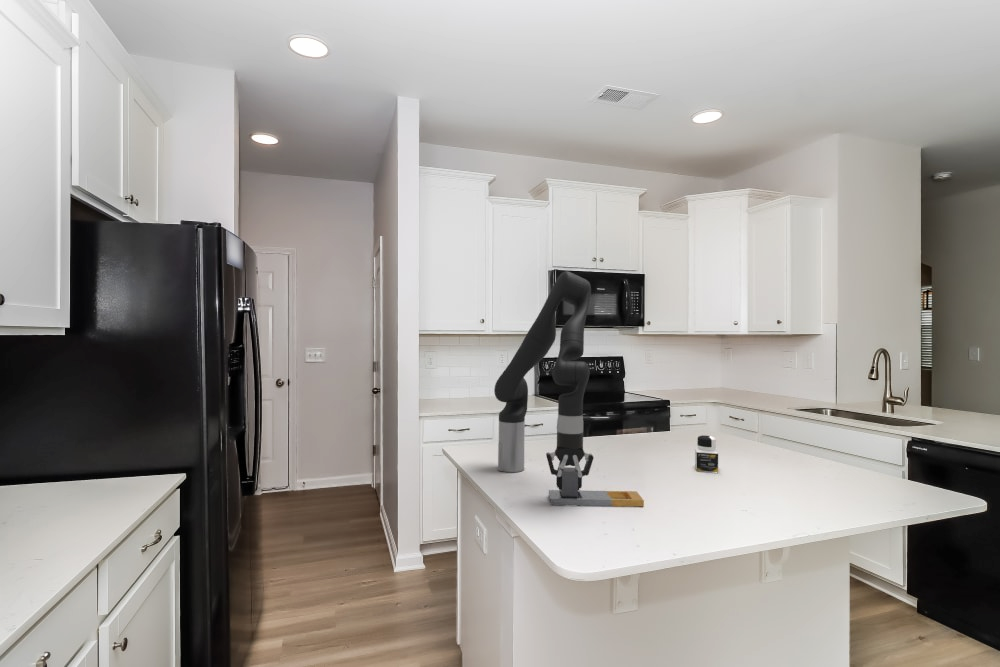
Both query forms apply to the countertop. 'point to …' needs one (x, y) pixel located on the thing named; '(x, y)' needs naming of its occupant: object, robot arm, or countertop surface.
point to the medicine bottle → (706, 454)
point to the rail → (598, 498)
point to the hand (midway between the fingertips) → (569, 488)
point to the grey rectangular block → (569, 483)
